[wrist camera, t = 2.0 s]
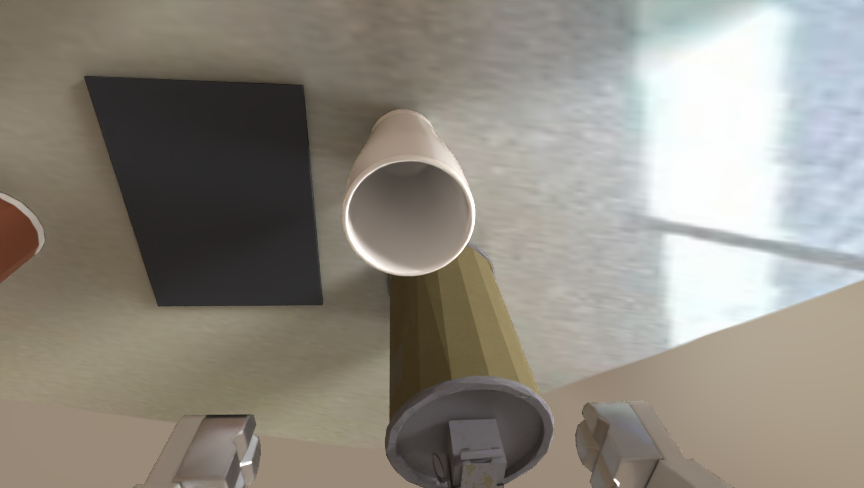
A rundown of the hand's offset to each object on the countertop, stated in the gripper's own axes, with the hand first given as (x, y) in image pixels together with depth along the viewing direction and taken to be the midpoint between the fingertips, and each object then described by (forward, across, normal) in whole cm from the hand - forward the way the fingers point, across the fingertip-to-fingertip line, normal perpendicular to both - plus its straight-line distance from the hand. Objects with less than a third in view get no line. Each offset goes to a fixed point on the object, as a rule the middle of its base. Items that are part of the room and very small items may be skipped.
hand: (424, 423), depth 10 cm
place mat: (+27, +15, +6) cm, 31 cm away
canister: (+27, -4, +14) cm, 30 cm away
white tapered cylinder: (+27, 0, 0) cm, 27 cm away
